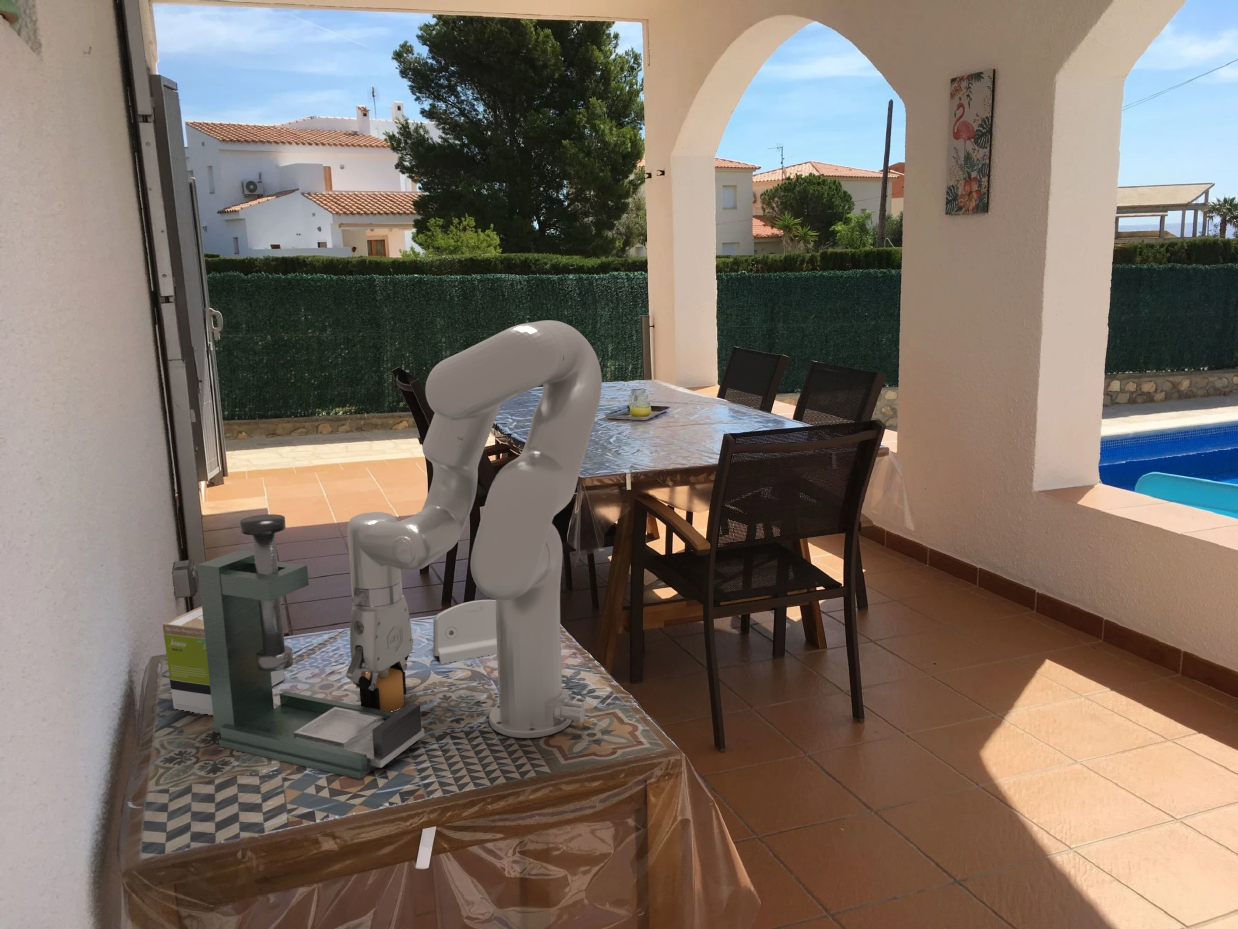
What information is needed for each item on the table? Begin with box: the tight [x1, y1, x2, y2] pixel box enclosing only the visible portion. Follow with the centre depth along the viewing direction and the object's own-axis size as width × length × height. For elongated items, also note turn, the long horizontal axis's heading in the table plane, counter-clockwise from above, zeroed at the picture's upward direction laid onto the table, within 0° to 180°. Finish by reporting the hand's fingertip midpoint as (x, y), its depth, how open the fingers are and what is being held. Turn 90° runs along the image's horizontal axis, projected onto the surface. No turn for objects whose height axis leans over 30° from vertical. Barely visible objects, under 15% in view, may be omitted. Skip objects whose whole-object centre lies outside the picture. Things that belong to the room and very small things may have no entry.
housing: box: [365, 668, 405, 712], centre depth 149 cm, size 6×6×6 cm
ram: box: [239, 513, 294, 672], centre depth 138 cm, size 6×6×22 cm
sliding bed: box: [294, 702, 425, 768], centre depth 136 cm, size 15×10×5 cm, turn 67°
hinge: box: [432, 599, 497, 665], centre depth 172 cm, size 17×5×10 cm, turn 115°
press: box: [197, 549, 397, 780], centre depth 137 cm, size 29×14×26 cm, turn 67°
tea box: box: [162, 605, 286, 716], centre depth 153 cm, size 15×10×15 cm, turn 161°
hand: (384, 701), depth 150 cm, fingers closed on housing, 6 cm apart
